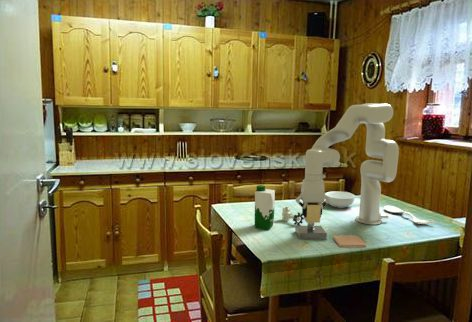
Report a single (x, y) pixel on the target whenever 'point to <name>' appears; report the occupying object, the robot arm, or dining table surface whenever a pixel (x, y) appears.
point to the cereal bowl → (340, 199)
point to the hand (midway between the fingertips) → (312, 216)
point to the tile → (349, 241)
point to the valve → (291, 216)
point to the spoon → (397, 210)
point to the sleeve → (313, 213)
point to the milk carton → (264, 208)
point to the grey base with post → (311, 232)
